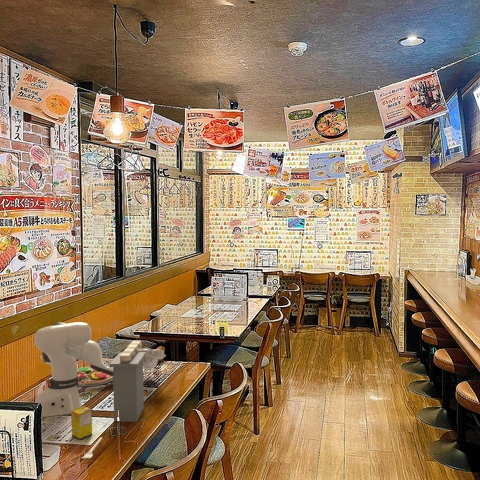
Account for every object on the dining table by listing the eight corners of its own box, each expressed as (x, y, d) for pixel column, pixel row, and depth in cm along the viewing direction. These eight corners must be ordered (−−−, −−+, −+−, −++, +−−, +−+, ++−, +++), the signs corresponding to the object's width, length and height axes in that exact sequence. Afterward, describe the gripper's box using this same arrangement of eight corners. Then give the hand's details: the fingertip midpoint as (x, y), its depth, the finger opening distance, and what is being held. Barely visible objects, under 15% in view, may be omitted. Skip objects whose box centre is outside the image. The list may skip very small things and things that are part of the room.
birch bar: (133, 346, 246) (133, 340, 246) (141, 346, 246) (141, 340, 246) (119, 362, 220) (119, 355, 220) (129, 362, 220) (129, 355, 220)
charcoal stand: (120, 407, 238) (119, 352, 236) (146, 407, 237) (145, 352, 236) (110, 423, 220) (109, 363, 218) (138, 423, 219) (137, 363, 218)
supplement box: (84, 431, 212) (83, 405, 211) (92, 435, 208) (92, 409, 208) (71, 436, 207) (70, 410, 207) (79, 440, 204) (79, 413, 203)
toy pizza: (57, 388, 265) (56, 380, 265) (72, 371, 293) (72, 363, 293) (111, 387, 266) (110, 379, 266) (121, 370, 294) (121, 363, 293)
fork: (105, 439, 206) (105, 434, 206) (88, 462, 186) (88, 457, 186) (97, 439, 207) (97, 434, 206) (79, 462, 187) (79, 457, 187)
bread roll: (162, 364, 305) (162, 350, 305) (146, 364, 305) (145, 350, 305) (165, 357, 318) (165, 345, 318) (149, 357, 318) (149, 345, 318)
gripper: (165, 362, 265) (162, 357, 253) (126, 363, 265) (120, 357, 253) (166, 350, 268) (162, 344, 255) (127, 350, 268) (121, 345, 255)
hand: (141, 351), depth 254 cm, fingers open, 8 cm apart
